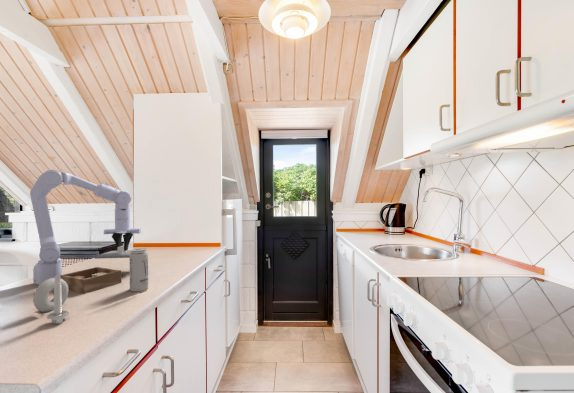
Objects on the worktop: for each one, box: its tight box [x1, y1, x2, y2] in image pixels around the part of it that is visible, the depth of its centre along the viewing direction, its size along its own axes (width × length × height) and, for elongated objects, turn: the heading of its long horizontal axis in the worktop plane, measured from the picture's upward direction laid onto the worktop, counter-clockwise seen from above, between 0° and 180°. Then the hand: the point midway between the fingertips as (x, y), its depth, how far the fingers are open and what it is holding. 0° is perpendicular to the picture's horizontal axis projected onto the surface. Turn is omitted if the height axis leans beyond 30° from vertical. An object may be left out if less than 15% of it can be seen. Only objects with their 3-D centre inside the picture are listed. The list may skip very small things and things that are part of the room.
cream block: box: [92, 272, 107, 277], centre depth 118 cm, size 4×4×4 cm
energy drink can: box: [129, 247, 149, 294], centre depth 110 cm, size 6×6×15 cm
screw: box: [46, 275, 70, 325], centre depth 84 cm, size 13×5×5 cm
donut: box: [32, 278, 69, 313], centre depth 91 cm, size 10×3×10 cm, turn 168°
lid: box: [94, 245, 148, 260], centre depth 133 cm, size 15×15×4 cm
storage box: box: [60, 266, 122, 294], centre depth 114 cm, size 14×14×6 cm
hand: (122, 250), depth 133 cm, fingers closed on lid, 2 cm apart
